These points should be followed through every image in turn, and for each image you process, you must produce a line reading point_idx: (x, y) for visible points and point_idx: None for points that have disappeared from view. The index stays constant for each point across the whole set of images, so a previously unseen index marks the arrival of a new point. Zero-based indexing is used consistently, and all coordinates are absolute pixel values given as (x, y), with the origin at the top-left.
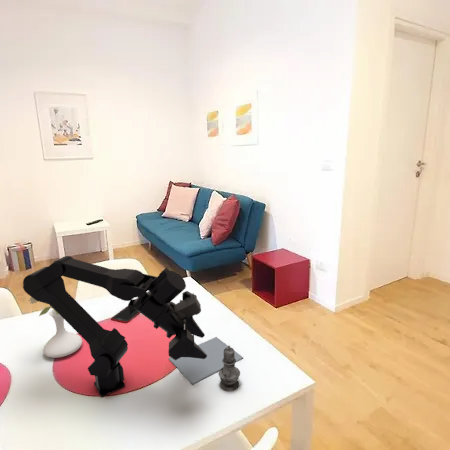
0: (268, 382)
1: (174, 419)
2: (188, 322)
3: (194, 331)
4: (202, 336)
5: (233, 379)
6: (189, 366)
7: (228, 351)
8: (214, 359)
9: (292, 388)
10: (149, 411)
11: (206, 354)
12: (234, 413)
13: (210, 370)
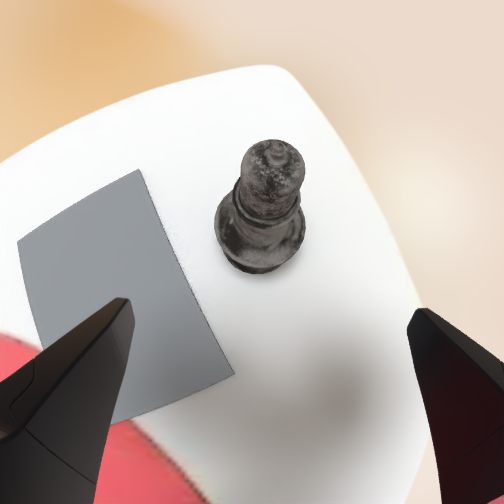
0: (270, 129)
1: (371, 424)
2: (36, 481)
3: (100, 398)
4: (130, 319)
5: (302, 214)
6: (134, 373)
7: (297, 166)
8: (116, 270)
9: (300, 92)
10: (324, 491)
11: (424, 311)
12: (378, 249)
13: (173, 296)
